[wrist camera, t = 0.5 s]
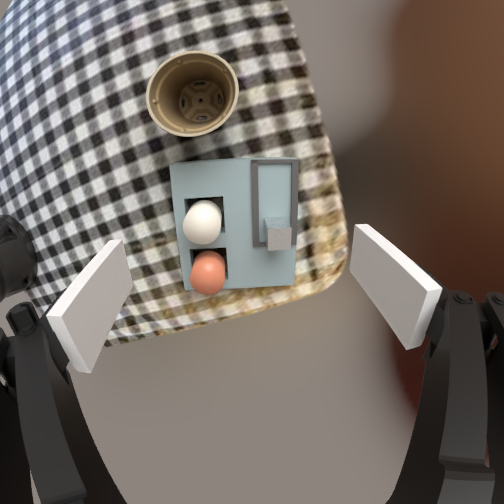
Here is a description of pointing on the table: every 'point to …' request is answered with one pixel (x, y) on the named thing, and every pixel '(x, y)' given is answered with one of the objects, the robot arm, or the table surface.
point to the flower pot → (192, 93)
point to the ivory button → (202, 222)
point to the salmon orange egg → (208, 272)
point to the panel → (241, 215)
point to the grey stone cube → (277, 234)
